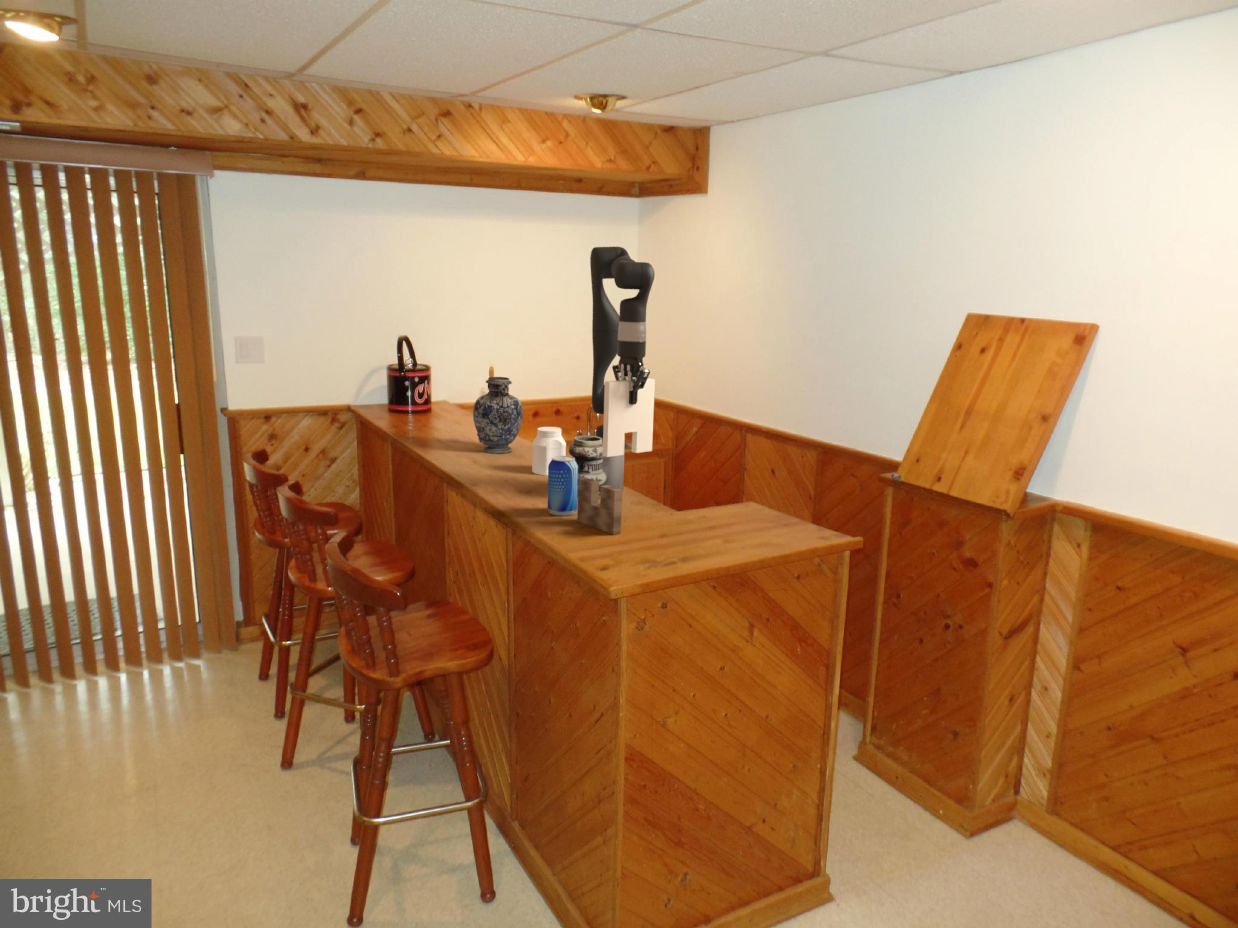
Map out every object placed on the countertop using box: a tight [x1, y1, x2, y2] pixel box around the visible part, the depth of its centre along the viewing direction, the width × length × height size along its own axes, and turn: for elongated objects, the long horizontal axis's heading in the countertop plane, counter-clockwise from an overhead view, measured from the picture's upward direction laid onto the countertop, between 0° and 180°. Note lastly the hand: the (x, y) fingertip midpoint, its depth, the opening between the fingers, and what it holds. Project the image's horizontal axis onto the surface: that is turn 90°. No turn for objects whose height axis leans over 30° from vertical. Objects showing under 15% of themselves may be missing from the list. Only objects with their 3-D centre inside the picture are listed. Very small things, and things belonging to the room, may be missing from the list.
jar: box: [531, 426, 567, 476], centre depth 290 cm, size 12×10×15 cm
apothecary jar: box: [568, 435, 606, 499], centre depth 261 cm, size 12×12×18 cm
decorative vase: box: [472, 376, 524, 455], centre depth 320 cm, size 21×19×28 cm
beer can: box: [547, 455, 578, 517], centre depth 242 cm, size 8×8×16 cm
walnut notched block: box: [576, 477, 623, 536], centre depth 229 cm, size 16×2×12 cm, turn 39°
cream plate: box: [603, 378, 656, 457], centre depth 230 cm, size 16×2×20 cm, turn 130°
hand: (629, 403), depth 229 cm, fingers closed on cream plate, 2 cm apart
